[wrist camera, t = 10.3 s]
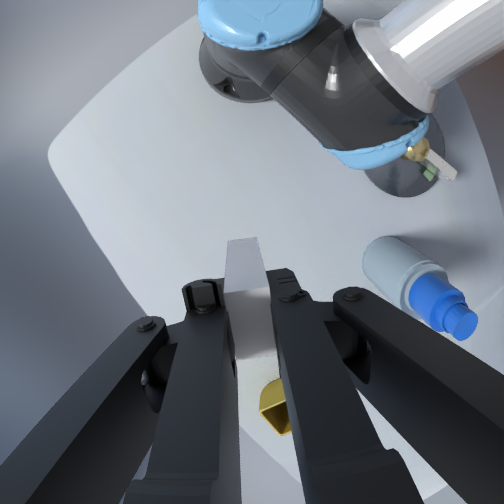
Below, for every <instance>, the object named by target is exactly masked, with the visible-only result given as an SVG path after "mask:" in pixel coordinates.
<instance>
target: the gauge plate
mask: <svg viewBox="0 0 504 504" xmlns="http://www.w3.org/2000/svg"><path fill="white" fill-rule="evenodd" d="M428 117H429V127H428V130H427V132H426V134H425V135H424V137H425V138H426V139H427V140H428V142H429V145H430V149H431V150H433V151H434V152H435V153H436V154H437V155H439V156H440V157H441V158H442V159H443V160H444V155H445V148H444V140H443V136H442V133H441V130H440V128H439V126H438V124H437V122H436V120H435V119H434V117H433V116H432V115H431V114H428ZM364 171H365V173H366V175H367V176H368V178H369V179H370V180H371V181H372V182H373V183H374V184H375V185H376V186H377V187H378V188H379V189H381V190H382V191H384V192H386V193H388V194H391V195H394V196H398V197H414V196H417V195H420V194H422V193H424V192H425V191H427V190H428V189H429V188H430V187H431V186H432V185H433V184H434V183H435V181H436V180H437V178H438V177H437V176H436V175H434V174H433V173H432V172H431V171H430V170H428V169H427V168H426V167H424V166H423V165H422V164H421V163H419V162H418V161H407V160H403V159H401V158H400V157H398V158H397V159H395V160H393V161H391V162H389V163H387V164H384V165H381V166H379V167H376V168H372V169H366V170H364Z"/></svg>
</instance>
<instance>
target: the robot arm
mask: <svg viewBox="0 0 504 504" xmlns="http://www.w3.org/2000/svg"><path fill="white" fill-rule="evenodd" d="M198 22H199V24H200V27H201V28H202V31H203V33H204V38H203V40H202V43H201V46H200V51H199V63H200V67H201V70H202V73H203V75H204V78H205V79H206V81H207V82H208V84H209V85H210V86H211V87H212V88H213V89H214V90H215V91H216V92H217V93H219V94H220V95H222V96H224V97H226V98H228V99H230V100H233V101H237V102H243V103H256V102H262V101H265V100H268V99H271V98H273V99H274V100H275V101H277V102H278V103H279V104H280V105H281V106H282V107H283V108H284V109H285V110H287V111H288V112H289V113H290V114H291V115H292V116H293V117H294V118H295V119H296V120H297V121H298V122H300V123H301V124H302V125H303V126H304V127H305V128H306V129H307V130H308V131H309V132H310V133H311V134H312V135H313V136H314V137H315V138H316V139H317V140H318V141H319V143H320V145H321V146H322V147H323V148H324V149H326V150H327V151H329V152H331V153H332V154H333V155H334V156H335V157H336V158H337V159H338V160H339V161H340V162H341V163H343V164H344V165H346V166H348V167H349V168H352V169H357V170H366V169H372V168H376V167H379V166H381V165H384V164H387V163H389V162H391V161H393V160H395V159H397V158H398V157H400V156H402V155H403V154H405V153H406V152H407V151H408V148H409V147H411V146H414V145H416V144H417V143H418V142H419V141H420V140H421V139H422V138H423V137H424V135H425V134H426V132H427V130H428V127H429V117H428V114H430V113H432V112H433V111H434V110H435V109H436V106H437V98H438V91H439V89H440V88H442V87H443V86H445V85H446V84H448V83H450V82H451V81H453V80H454V79H456V78H457V77H459V76H461V75H462V74H464V73H466V72H467V71H469V70H470V69H472V68H474V67H475V66H477V65H478V64H480V63H482V62H483V61H485V60H487V59H488V58H490V57H492V56H493V55H495V54H497V53H498V52H500V51H502V50H503V49H504V0H404V1H403V2H402V3H400V4H399V5H398V6H397V7H395V8H394V9H393V10H392V11H390V12H389V13H388V14H387V15H386V16H384V17H383V18H382V19H380V20H372V19H357V20H355V21H354V22H353V23H352V24H351V25H350V26H349V27H348V28H346V27H345V26H344V25H343V24H342V23H341V22H339V21H338V20H337V19H336V18H335V17H334V16H333V15H331V14H330V13H329V12H328V11H327V10H326V9H324V8H323V0H198ZM182 293H183V297H184V302H185V306H186V310H187V312H186V316H185V319H184V321H182V322H179V323H176V324H173V325H169V326H166V323H165V320H164V319H163V318H161V317H157V316H151V317H150V316H146V317H145V318H144V317H142V318H140V319H139V320H137V321H135V322H133V323H132V324H131V325H130V326H128V327H127V328H126V329H125V331H124V332H123V333H122V334H121V335H120V336H119V337H118V338H117V339H116V340H115V341H114V342H113V343H112V344H111V345H110V346H109V347H108V348H107V349H106V350H105V351H104V352H103V353H102V354H101V356H100V357H99V358H98V359H97V360H96V361H95V362H94V363H93V364H92V365H91V366H90V367H89V368H88V369H87V370H86V371H85V372H84V373H83V375H82V376H81V377H80V378H79V379H78V380H77V381H76V382H75V383H74V384H73V385H72V386H71V387H70V389H69V390H68V391H67V392H66V393H65V394H64V395H63V396H62V397H61V398H60V399H59V401H58V402H57V403H56V404H55V405H54V406H53V407H52V408H51V409H50V410H49V411H48V413H47V414H46V415H45V416H44V417H43V418H42V419H41V420H40V421H39V423H38V424H37V425H36V426H35V427H34V428H33V429H32V430H31V432H30V433H29V434H28V435H27V436H26V437H25V438H24V440H23V441H22V442H21V443H20V444H19V445H18V446H17V448H16V449H15V450H14V451H13V452H12V453H11V454H10V456H9V457H8V458H7V459H6V460H5V461H4V463H3V464H2V465H1V466H0V504H119V502H120V500H121V499H122V497H123V495H124V493H125V492H126V494H125V497H124V502H123V504H242V500H241V476H240V449H239V418H238V382H237V365H236V361H238V360H246V359H253V358H261V357H268V356H274V355H277V357H278V365H279V374H280V379H282V384H283V389H284V394H285V400H286V405H287V410H288V415H289V420H290V425H291V430H292V435H293V440H294V445H295V450H296V456H297V461H298V466H299V471H300V476H301V481H302V486H303V492H304V496H305V502H306V504H424V502H423V500H422V498H421V496H420V494H419V491H418V489H417V487H416V485H415V483H414V481H413V479H412V477H411V475H410V472H409V470H408V468H407V466H406V464H405V462H404V460H403V458H402V457H401V455H400V454H399V452H398V451H396V450H395V449H394V448H392V449H389V450H386V449H385V448H384V447H383V445H382V443H381V441H380V439H379V437H378V435H377V432H376V430H375V428H374V426H373V424H372V422H371V419H370V417H369V415H368V413H367V411H366V409H365V407H364V404H363V402H362V400H361V398H360V396H359V394H358V392H357V390H356V388H357V389H358V390H359V391H360V392H361V394H362V395H363V396H364V397H365V398H366V399H367V400H368V401H369V402H370V403H371V404H372V405H373V406H374V407H375V408H376V409H377V410H378V412H379V413H380V414H381V415H382V416H383V417H384V418H385V419H386V420H387V421H388V422H389V423H390V424H391V425H392V426H393V427H394V428H395V429H396V431H397V432H398V433H399V434H400V435H401V436H402V437H403V438H404V439H405V440H406V441H407V442H408V443H409V444H410V445H411V446H412V447H413V448H414V449H415V450H416V451H417V452H418V453H419V455H420V456H421V457H422V458H423V459H424V460H425V461H426V462H427V463H428V464H429V465H430V466H431V467H432V468H433V469H434V470H435V471H436V472H437V473H438V474H439V475H440V476H441V477H442V478H443V479H444V480H445V481H446V482H447V483H448V484H449V485H450V486H451V488H453V490H454V491H455V492H456V493H457V494H458V495H459V496H460V497H462V498H463V500H464V501H465V502H466V503H467V504H504V375H503V374H501V373H500V372H498V371H497V370H495V369H494V368H492V367H491V366H489V365H488V364H486V363H484V362H483V361H481V360H480V359H478V358H477V357H475V356H474V355H472V354H471V353H469V352H467V351H466V350H464V349H463V348H461V347H460V346H458V345H456V344H455V343H453V342H452V341H450V340H449V339H447V338H445V337H444V336H442V335H441V334H439V333H437V332H436V331H434V330H433V329H431V328H429V327H428V326H426V325H425V324H423V323H421V322H420V321H418V320H417V319H415V318H413V317H412V316H410V315H408V314H407V313H405V312H404V311H402V310H400V309H399V308H397V307H395V306H394V305H392V304H391V303H389V302H387V301H386V300H384V299H382V298H381V297H379V296H377V295H376V294H374V293H372V292H371V291H369V290H367V289H364V288H358V287H347V288H344V289H341V290H339V291H337V292H335V293H334V295H333V302H318V301H313V300H312V298H311V296H310V294H309V293H308V292H307V291H305V290H302V289H301V287H300V285H299V283H298V281H297V279H296V277H295V275H294V273H293V271H291V270H289V269H287V268H284V269H277V270H270V271H265V268H264V264H263V260H262V256H261V252H260V248H259V244H258V240H257V237H253V238H246V239H239V240H232V241H228V244H227V256H226V268H225V278H220V279H201V280H197V281H193V282H191V283H188V284H187V285H185V286H184V287H183V288H182ZM235 356H236V360H235ZM142 374H143V376H144V378H145V379H144V380H143V382H142V383H141V378H142ZM355 387H356V388H355ZM152 443H153V445H152ZM151 445H152V449H151V454H150V458H149V463H148V467H147V472H146V475H145V477H144V478H143V480H133V481H132V479H133V477H134V475H135V474H136V472H137V470H138V468H139V466H140V465H141V463H142V461H143V459H144V457H145V456H146V454H147V452H148V450H149V448H150V446H151ZM131 481H132V482H131Z"/></svg>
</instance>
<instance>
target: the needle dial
mask: <svg viewBox="0 0 504 504" xmlns="http://www.w3.org/2000/svg"><path fill="white" fill-rule="evenodd" d="M400 158H401V159H403V160H407V161H418V162H419V163H421V164H422V165H423V166H424V167H426V168H427V169H428V170H430V171H431V172H432V173H433V174H434V175H436V176H437V177H438V178H440V179H445V180H450V181H454V179H455V177H456V175H457V173H458V172H457V171H456V170H455V169H454V168H453V167H452V166H450V165H449V164H448V163H447V162H446V161H445V160H443V159H442V158H441V157H440V156H439V155H437V154H436V153H435V152H434V151H433V150H431V149H430V145H429V142H428V140H427V139H426V138H425V137H423V138H422V139H421V140H420V141H419V142H418V143H417V144H416V145H414V146H411V147H409V148H408V151H407V152H406V153H405V154H403V155H402V156H400Z"/></svg>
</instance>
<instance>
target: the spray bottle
mask: <svg viewBox="0 0 504 504" xmlns="http://www.w3.org/2000/svg"><path fill="white" fill-rule="evenodd" d="M362 268H363V271H364V274H365V275H366V277H367V278H368V279H369V280H370V281H371V282H372V283H373V284H374V285H375V286H376V287H377V288H378V289H379V290H380V291H381V292H382V293H383V294H384V295H385V296H386V297H387V298H388V300H389V301H390V302H391V303H392V304H393V305H394V306H395V307H397V308H399V309H400V310H402V311H404V312H405V313H407V314H408V315H410V316H412V317H413V318H415V319H423V320H424V321H425V322H426V323H427V324H428V325H429V326H430V327H431V328H432V329H434V330H435V331H438V332H443V331H445V332H446V333H450V334H451V335H452V336H453V337H454V338H456V339H457V340H459V341H462V340H465V339H467V338H468V337H470V336H471V334H472V333H473V332H474V330H475V329H476V326H477V323H478V317H477V315H476V314H475V313H474V312H473V311H472V310H470V309H469V308H468V306H467V304H466V303H465V297H464V295H463V293H462V292H461V291H459V290H458V289H457V288H455V287H454V286H452V285H451V284H449V282H448V277H447V274H446V272H445V271H444V269H443V268H442V266H441V265H439V264H438V263H437V262H435V261H434V260H432V259H430V258H429V257H427V256H425V255H424V254H422V253H420V252H419V251H417V250H415V249H414V248H412V247H410V246H409V245H407V244H405V243H404V242H402V241H400V240H398V239H397V238H395V237H391V236H384V237H380V238H378V239H376V240H374V241H373V242H372V243H371V244H370V245H369V246H368V247H367V249H366V251H365V252H364V256H363V259H362Z"/></svg>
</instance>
